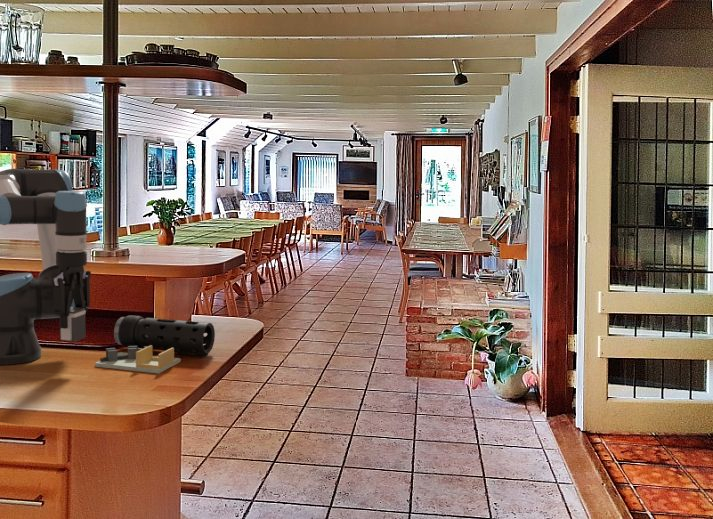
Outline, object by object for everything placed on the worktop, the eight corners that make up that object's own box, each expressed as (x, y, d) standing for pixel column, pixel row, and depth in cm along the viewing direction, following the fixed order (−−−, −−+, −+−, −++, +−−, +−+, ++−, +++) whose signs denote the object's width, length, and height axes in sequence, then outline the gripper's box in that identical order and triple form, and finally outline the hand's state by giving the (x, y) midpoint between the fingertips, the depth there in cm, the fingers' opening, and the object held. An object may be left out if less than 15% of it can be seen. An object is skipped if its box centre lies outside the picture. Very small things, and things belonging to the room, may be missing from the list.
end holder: (135, 366, 189) (135, 352, 188) (150, 359, 196) (150, 345, 195) (160, 369, 187) (160, 354, 186) (174, 361, 194) (174, 347, 194)
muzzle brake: (202, 361, 200) (202, 325, 199) (112, 352, 205) (112, 318, 204) (215, 352, 209) (215, 318, 208) (129, 345, 215) (128, 311, 213)
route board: (94, 366, 191) (94, 352, 190) (119, 355, 202) (119, 341, 202) (158, 373, 186) (158, 358, 186) (180, 361, 198) (180, 348, 198)
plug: (60, 339, 185) (59, 310, 184) (70, 335, 189) (70, 306, 188) (75, 341, 184) (74, 311, 183) (85, 337, 188) (85, 308, 187)
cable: (100, 361, 192) (99, 358, 192) (100, 358, 195) (100, 355, 195) (148, 359, 195) (148, 356, 195) (148, 356, 199) (148, 353, 198)
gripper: (62, 256, 174) (63, 347, 177) (103, 247, 191) (104, 331, 194) (36, 253, 175) (38, 344, 179) (79, 245, 192) (80, 328, 196)
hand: (72, 337), depth 187 cm, fingers closed on plug, 5 cm apart
